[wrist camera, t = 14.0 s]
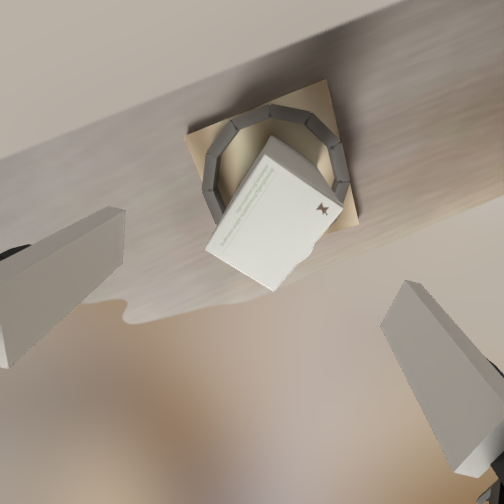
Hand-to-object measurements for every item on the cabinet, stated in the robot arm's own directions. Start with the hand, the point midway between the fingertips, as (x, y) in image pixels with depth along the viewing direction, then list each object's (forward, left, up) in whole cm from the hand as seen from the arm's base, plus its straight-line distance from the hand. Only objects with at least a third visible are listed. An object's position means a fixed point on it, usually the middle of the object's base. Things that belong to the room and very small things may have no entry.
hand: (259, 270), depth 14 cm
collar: (0, 0, -23) cm, 23 cm away
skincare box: (0, 0, -22) cm, 22 cm away
